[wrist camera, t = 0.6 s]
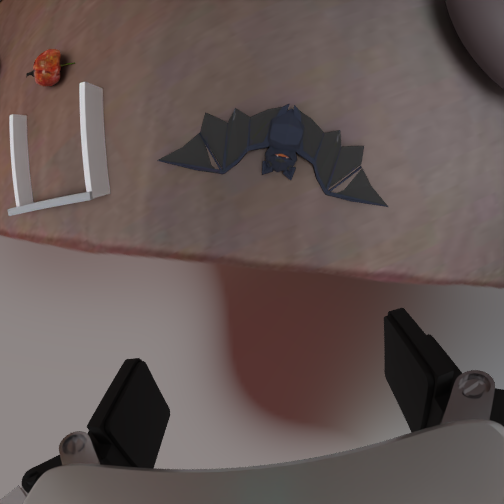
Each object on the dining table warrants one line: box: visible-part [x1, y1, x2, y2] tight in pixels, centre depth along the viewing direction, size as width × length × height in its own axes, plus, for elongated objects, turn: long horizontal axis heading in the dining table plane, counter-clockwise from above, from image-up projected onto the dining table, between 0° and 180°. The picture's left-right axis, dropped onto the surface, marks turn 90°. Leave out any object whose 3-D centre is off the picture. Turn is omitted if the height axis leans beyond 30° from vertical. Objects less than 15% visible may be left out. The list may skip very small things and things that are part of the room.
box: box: [8, 82, 111, 216], centre depth 34 cm, size 15×16×6 cm
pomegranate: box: [26, 49, 73, 86], centre depth 31 cm, size 6×6×8 cm
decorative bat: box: [157, 104, 388, 207], centre depth 35 cm, size 30×4×10 cm
